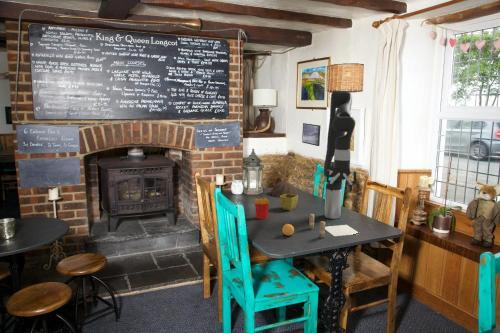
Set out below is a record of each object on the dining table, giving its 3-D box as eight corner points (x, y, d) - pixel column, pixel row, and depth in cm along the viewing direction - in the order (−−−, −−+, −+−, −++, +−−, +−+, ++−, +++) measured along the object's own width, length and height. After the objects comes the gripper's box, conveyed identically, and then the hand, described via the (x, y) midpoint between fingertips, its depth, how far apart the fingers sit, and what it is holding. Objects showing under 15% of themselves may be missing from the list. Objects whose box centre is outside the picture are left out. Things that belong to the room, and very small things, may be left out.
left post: (308, 228, 215) (308, 214, 214) (312, 227, 216) (313, 213, 214) (310, 229, 213) (310, 215, 211) (314, 229, 213) (315, 215, 212)
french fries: (268, 216, 235) (268, 197, 233) (268, 218, 231) (269, 199, 229) (254, 217, 235) (254, 197, 233) (254, 219, 231) (254, 199, 229)
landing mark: (321, 227, 217) (321, 226, 217) (346, 225, 220) (346, 224, 220) (334, 236, 202) (334, 236, 202) (360, 234, 206) (360, 233, 206)
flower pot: (291, 212, 245) (291, 198, 243) (279, 209, 250) (279, 196, 249) (298, 209, 252) (298, 195, 250) (286, 206, 257) (286, 193, 255)
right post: (318, 236, 202) (319, 221, 201) (323, 236, 203) (323, 221, 202) (320, 238, 200) (321, 223, 198) (325, 237, 200) (326, 222, 199)
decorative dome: (284, 199, 276) (284, 185, 274) (265, 194, 291) (265, 181, 289) (302, 195, 288) (303, 181, 287) (283, 190, 303) (283, 177, 301)
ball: (280, 233, 206) (280, 222, 205) (291, 232, 207) (291, 222, 206) (284, 237, 200) (284, 226, 199) (295, 236, 202) (295, 225, 201)
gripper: (357, 158, 191) (355, 190, 194) (327, 156, 194) (326, 189, 197) (357, 160, 184) (356, 194, 186) (326, 159, 187) (325, 192, 189)
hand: (340, 191), depth 192 cm, fingers open, 8 cm apart
